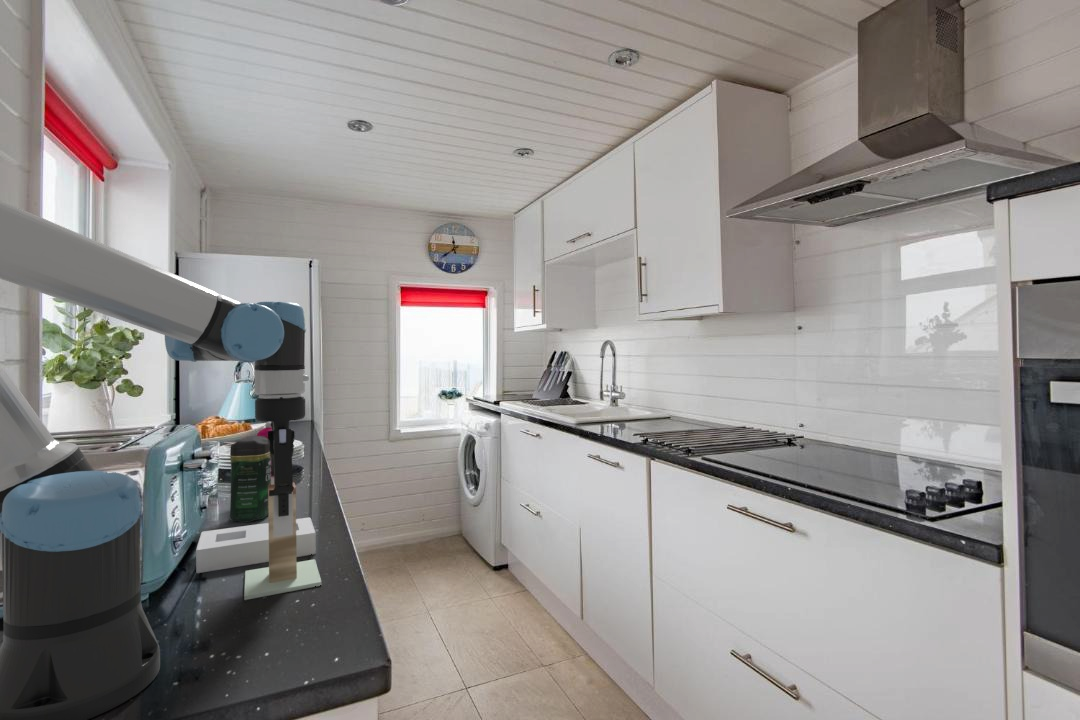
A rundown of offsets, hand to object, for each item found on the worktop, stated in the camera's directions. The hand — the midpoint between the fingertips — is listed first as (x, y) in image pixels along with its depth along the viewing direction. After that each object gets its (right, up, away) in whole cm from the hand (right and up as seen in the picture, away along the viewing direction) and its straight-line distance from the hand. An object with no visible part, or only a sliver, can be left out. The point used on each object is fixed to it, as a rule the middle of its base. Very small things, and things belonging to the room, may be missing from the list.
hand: (281, 523), depth 90 cm
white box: (-10, -9, +12) cm, 18 cm away
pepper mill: (-28, -9, +53) cm, 60 cm away
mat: (0, -9, 0) cm, 9 cm away
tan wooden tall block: (0, -9, 0) cm, 9 cm away
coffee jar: (-24, -9, +35) cm, 44 cm away
